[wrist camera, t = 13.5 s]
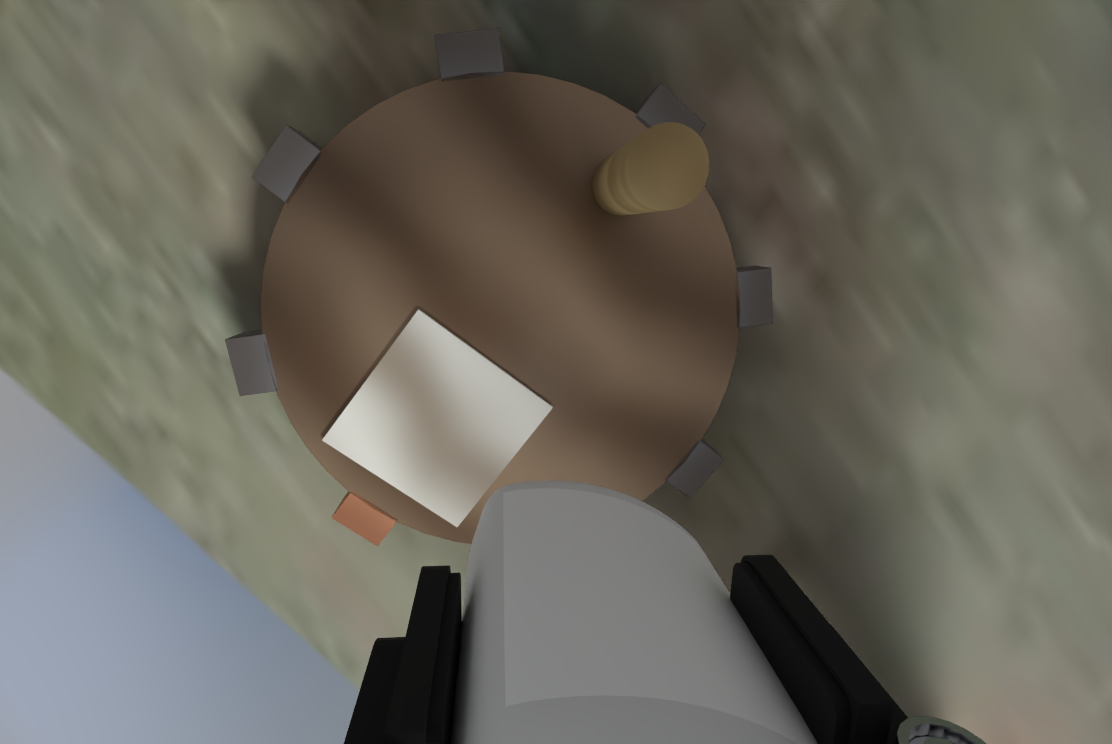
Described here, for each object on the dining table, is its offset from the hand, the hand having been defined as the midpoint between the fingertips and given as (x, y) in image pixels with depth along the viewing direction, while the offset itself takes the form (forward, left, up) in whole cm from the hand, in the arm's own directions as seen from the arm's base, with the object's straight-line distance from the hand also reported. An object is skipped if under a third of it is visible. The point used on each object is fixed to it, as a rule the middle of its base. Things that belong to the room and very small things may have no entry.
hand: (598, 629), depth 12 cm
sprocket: (+4, +2, -16) cm, 17 cm away
